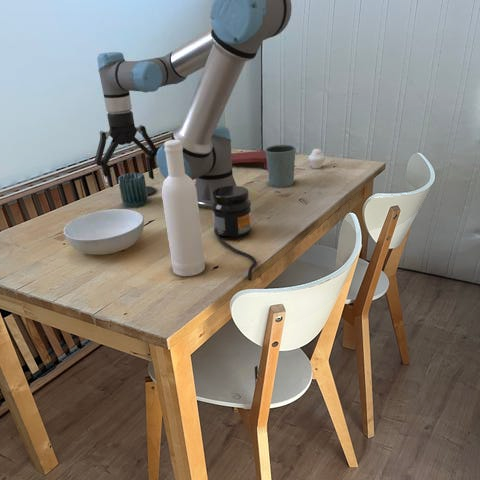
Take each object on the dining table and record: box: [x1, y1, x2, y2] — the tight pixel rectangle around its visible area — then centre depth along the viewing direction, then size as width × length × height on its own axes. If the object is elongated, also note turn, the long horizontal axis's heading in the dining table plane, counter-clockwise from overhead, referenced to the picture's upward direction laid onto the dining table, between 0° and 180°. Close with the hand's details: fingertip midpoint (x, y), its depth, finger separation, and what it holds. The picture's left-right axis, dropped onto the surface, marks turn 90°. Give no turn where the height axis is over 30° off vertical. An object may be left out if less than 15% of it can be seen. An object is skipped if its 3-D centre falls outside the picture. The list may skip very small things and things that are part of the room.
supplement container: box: [211, 185, 253, 241], centre depth 132 cm, size 10×10×12 cm
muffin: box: [308, 148, 326, 170], centre depth 181 cm, size 6×6×7 cm
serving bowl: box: [62, 208, 145, 256], centre depth 130 cm, size 21×21×7 cm
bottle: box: [161, 139, 206, 277], centre depth 110 cm, size 8×8×30 cm
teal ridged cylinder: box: [117, 172, 149, 209], centre depth 158 cm, size 9×8×8 cm
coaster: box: [146, 185, 157, 197], centre depth 169 cm, size 11×11×1 cm
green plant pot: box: [264, 144, 297, 188], centre depth 166 cm, size 10×10×12 cm
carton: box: [231, 149, 268, 170], centre depth 192 cm, size 12×5×25 cm
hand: (131, 182), depth 156 cm, fingers open, 13 cm apart
